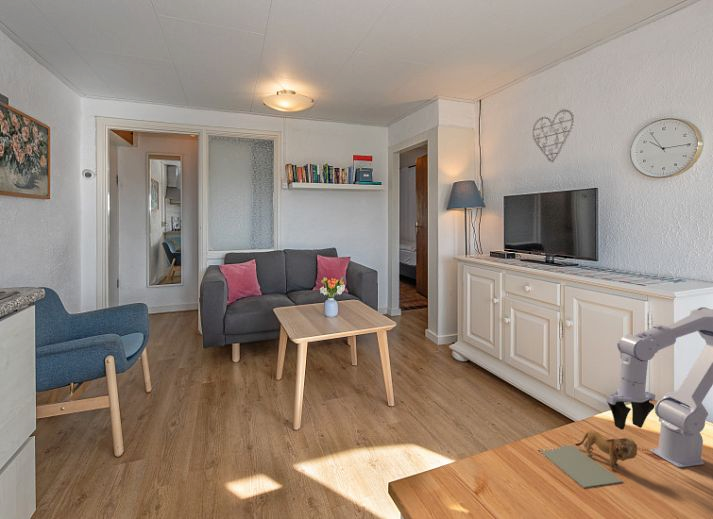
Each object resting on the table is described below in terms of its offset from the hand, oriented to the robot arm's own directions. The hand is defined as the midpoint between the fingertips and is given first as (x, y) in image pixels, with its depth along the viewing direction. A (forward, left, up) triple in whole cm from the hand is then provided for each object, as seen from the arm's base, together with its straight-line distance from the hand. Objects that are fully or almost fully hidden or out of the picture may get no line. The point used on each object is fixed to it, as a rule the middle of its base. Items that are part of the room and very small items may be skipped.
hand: (628, 426), depth 102 cm
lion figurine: (+7, 0, -10) cm, 12 cm away
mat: (+16, 0, -9) cm, 19 cm away
